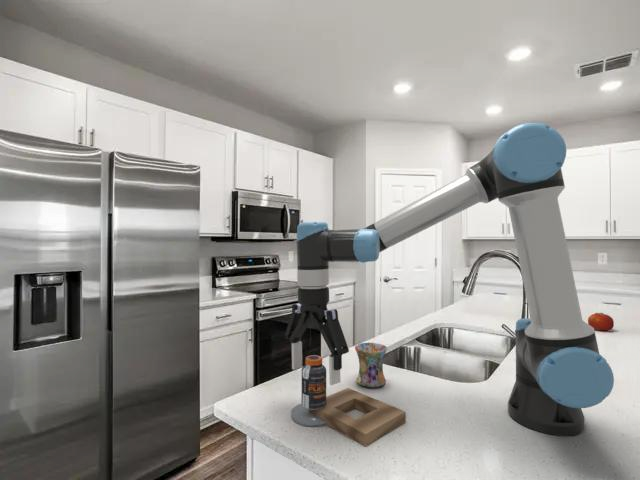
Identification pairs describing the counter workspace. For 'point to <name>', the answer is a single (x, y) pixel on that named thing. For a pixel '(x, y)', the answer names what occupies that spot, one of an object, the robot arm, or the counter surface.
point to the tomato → (601, 321)
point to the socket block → (365, 427)
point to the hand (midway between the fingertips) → (315, 375)
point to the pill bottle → (313, 383)
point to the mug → (371, 364)
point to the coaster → (306, 417)
